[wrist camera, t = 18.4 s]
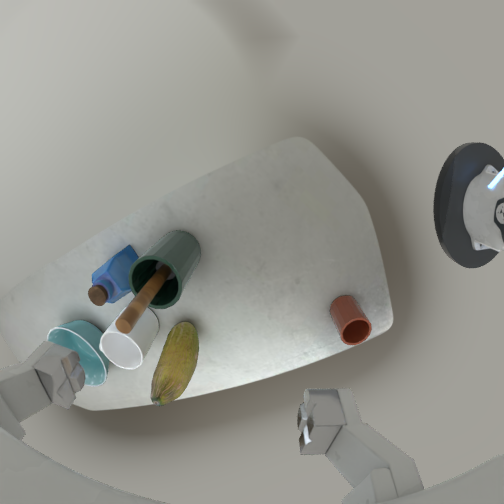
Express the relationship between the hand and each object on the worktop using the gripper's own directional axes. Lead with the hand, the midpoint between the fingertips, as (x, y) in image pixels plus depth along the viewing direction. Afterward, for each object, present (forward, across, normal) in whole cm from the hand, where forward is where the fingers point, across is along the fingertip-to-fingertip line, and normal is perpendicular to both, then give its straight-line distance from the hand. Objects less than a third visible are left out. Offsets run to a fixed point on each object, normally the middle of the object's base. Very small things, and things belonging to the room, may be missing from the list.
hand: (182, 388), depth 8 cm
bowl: (+36, +32, +32) cm, 58 cm away
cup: (+37, +10, +9) cm, 39 cm away
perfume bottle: (+37, +20, +13) cm, 44 cm away
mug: (+37, +20, +25) cm, 49 cm away
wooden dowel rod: (+36, +10, +9) cm, 38 cm away
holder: (+37, -20, +17) cm, 45 cm away
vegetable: (+37, +8, +24) cm, 45 cm away
